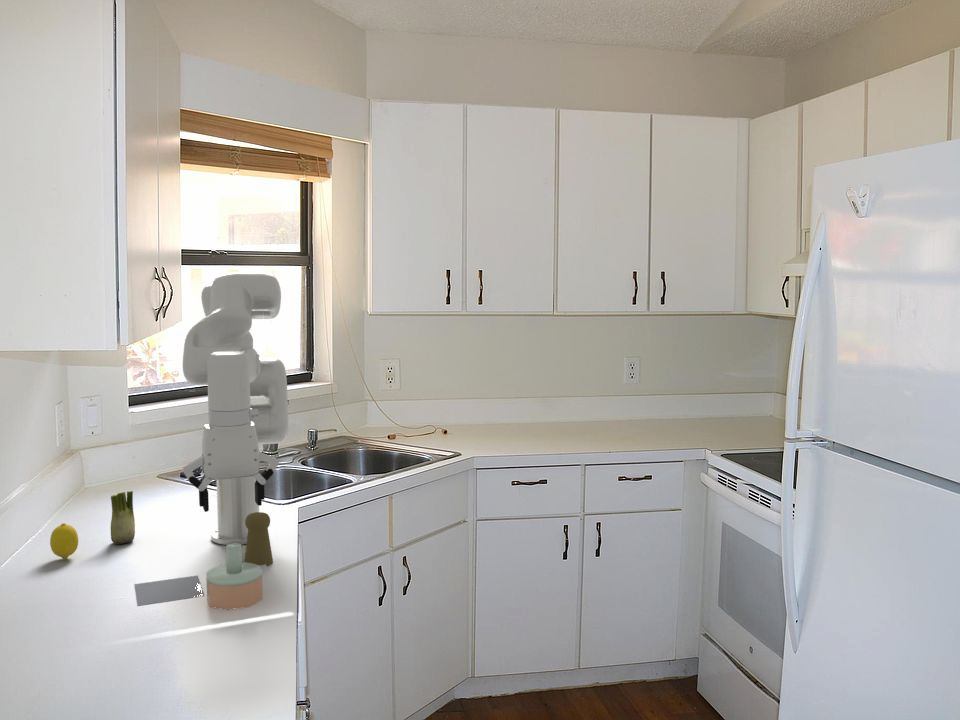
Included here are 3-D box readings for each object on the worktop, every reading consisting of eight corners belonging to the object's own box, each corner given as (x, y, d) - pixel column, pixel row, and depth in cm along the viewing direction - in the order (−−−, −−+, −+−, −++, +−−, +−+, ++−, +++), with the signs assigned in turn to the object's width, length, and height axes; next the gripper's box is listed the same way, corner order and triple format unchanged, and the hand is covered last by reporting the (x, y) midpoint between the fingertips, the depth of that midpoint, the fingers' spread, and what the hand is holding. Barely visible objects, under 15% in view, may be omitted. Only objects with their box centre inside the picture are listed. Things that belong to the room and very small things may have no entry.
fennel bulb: (133, 537, 199) (131, 488, 198) (139, 543, 195) (137, 492, 194) (107, 542, 196) (105, 491, 195) (112, 547, 192) (110, 496, 191)
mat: (134, 587, 168) (134, 584, 168) (197, 578, 173) (197, 575, 173) (137, 608, 157) (137, 605, 157) (204, 598, 162) (204, 595, 162)
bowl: (205, 597, 163) (204, 571, 162) (256, 589, 167) (255, 564, 166) (211, 615, 154) (211, 588, 154) (265, 606, 158) (264, 581, 158)
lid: (203, 571, 162) (202, 541, 162) (256, 564, 167) (255, 534, 166) (210, 589, 153) (209, 557, 153) (266, 581, 158) (265, 549, 157)
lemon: (71, 553, 188) (70, 518, 187) (83, 558, 185) (82, 522, 184) (46, 559, 184) (44, 523, 183) (58, 565, 180) (56, 528, 180)
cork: (244, 569, 178) (242, 518, 177) (244, 559, 184) (242, 510, 183) (273, 566, 180) (272, 516, 179) (272, 557, 186) (271, 508, 185)
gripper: (272, 410, 164) (274, 496, 166) (178, 417, 157) (182, 506, 159) (280, 418, 157) (282, 506, 159) (182, 425, 150) (186, 518, 152)
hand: (232, 506), depth 159 cm, fingers open, 9 cm apart
